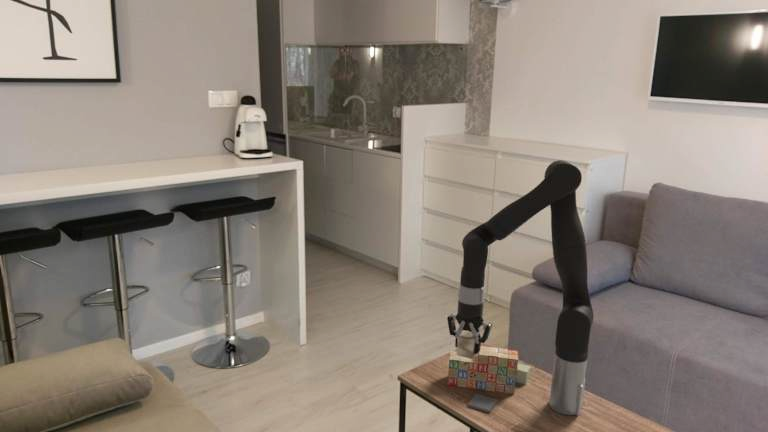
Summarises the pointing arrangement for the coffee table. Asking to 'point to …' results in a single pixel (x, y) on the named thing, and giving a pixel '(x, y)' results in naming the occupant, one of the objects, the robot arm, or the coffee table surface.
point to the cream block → (466, 345)
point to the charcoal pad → (482, 403)
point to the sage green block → (523, 373)
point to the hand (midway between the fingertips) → (467, 350)
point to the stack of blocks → (485, 370)
